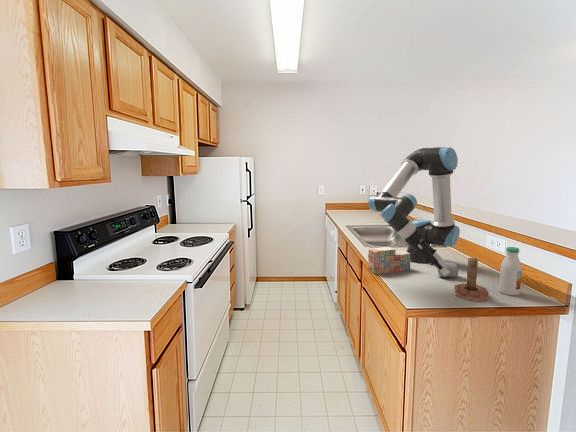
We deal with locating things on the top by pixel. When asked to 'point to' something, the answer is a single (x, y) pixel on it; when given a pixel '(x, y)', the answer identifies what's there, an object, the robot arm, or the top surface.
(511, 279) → the milk bottle
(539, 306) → the top surface
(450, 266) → the ceramic mug
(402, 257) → the stack of blocks
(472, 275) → the dowel
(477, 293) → the terracotta faceted ring
